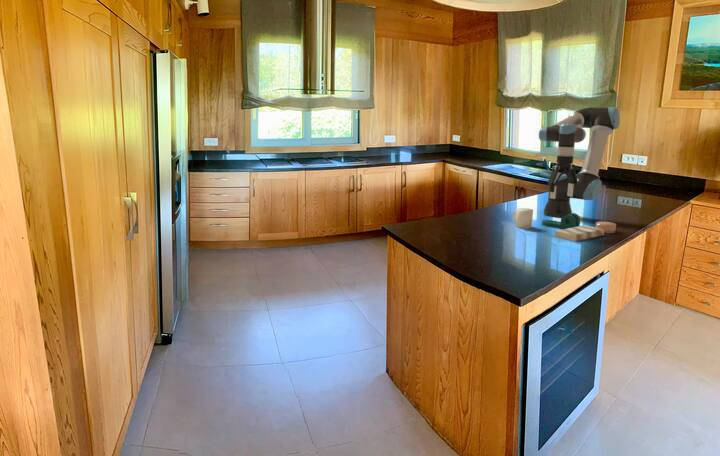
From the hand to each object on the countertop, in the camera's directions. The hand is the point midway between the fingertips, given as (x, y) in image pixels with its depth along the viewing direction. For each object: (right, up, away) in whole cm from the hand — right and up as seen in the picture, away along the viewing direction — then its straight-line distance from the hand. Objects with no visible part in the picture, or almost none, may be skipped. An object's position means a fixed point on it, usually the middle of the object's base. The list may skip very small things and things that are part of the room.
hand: (561, 197), depth 255 cm
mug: (-18, -15, +6) cm, 24 cm away
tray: (+3, -19, -14) cm, 24 cm away
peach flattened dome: (+20, -17, -5) cm, 27 cm away
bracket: (0, -15, +4) cm, 16 cm away
